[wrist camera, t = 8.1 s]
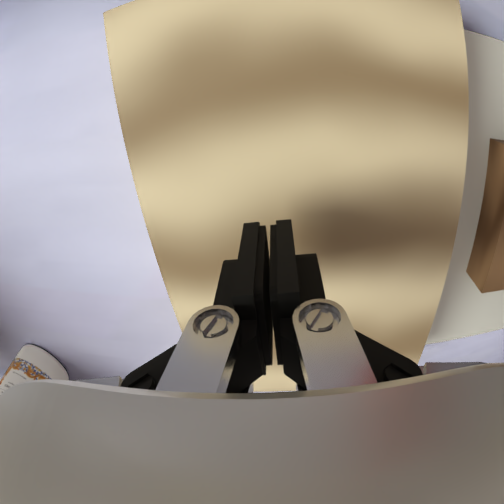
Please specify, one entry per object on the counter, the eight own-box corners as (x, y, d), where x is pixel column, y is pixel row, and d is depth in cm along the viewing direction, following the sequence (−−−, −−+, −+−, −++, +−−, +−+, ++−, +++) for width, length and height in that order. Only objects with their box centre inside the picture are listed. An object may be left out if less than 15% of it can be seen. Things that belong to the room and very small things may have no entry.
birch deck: (142, 23, 12) (103, 12, 8) (418, 4, 10) (456, -10, 6) (215, 347, 23) (206, 390, 19) (398, 336, 21) (411, 377, 18)
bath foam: (63, 355, 27) (-10, 512, 10) (76, 388, 30) (21, 523, 13) (16, 334, 26) (-60, 470, 9) (32, 368, 30) (-27, 490, 13)
